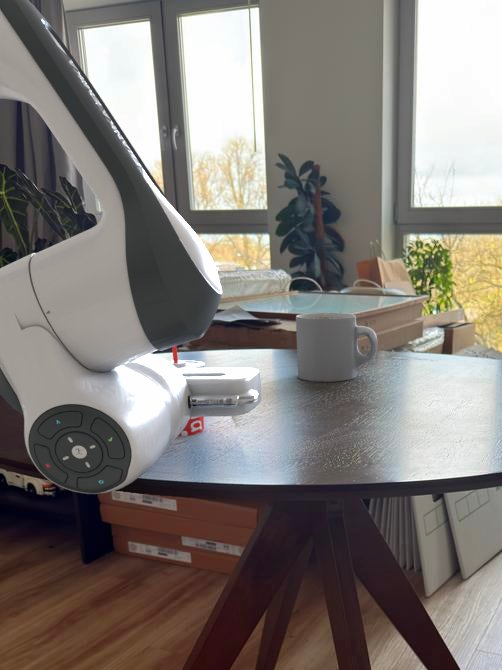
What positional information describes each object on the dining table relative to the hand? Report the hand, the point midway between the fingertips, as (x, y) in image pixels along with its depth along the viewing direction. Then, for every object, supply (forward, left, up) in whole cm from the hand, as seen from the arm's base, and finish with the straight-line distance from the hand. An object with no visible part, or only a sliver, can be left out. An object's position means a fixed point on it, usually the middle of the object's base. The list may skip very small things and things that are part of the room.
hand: (173, 376), depth 79 cm
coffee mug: (+26, +38, -8) cm, 47 cm away
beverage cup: (0, +1, -8) cm, 8 cm away
